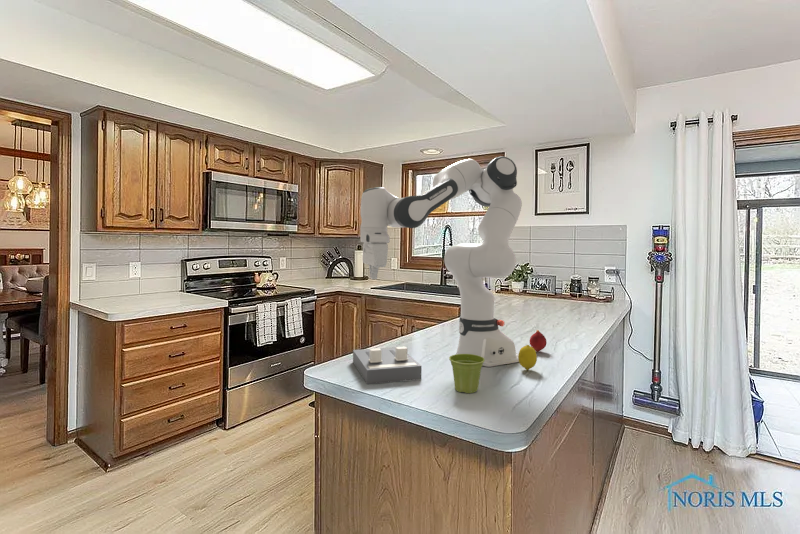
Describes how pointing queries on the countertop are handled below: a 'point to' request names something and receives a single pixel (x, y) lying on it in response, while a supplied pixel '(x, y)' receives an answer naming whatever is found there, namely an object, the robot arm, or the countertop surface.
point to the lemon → (527, 357)
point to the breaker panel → (386, 367)
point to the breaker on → (401, 354)
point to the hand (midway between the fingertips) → (373, 279)
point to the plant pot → (466, 371)
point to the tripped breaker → (375, 355)
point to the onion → (538, 341)
